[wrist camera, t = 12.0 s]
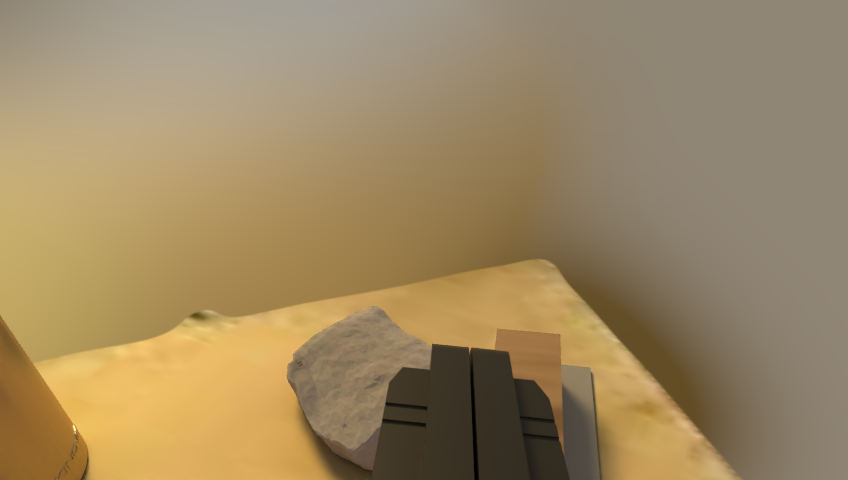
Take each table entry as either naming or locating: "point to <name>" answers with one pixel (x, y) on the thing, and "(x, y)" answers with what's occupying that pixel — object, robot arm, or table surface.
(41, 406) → the robot arm
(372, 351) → the stone block
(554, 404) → the walnut block
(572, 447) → the felt pad
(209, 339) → the table surface
